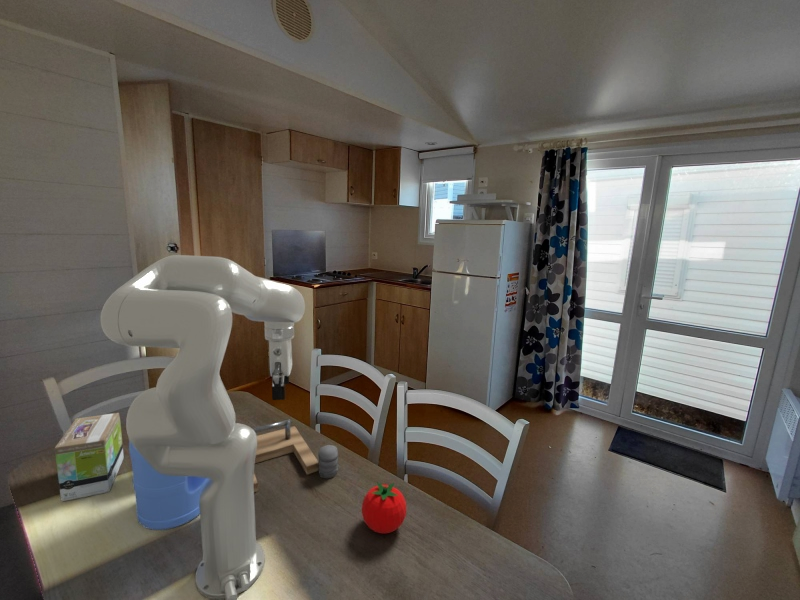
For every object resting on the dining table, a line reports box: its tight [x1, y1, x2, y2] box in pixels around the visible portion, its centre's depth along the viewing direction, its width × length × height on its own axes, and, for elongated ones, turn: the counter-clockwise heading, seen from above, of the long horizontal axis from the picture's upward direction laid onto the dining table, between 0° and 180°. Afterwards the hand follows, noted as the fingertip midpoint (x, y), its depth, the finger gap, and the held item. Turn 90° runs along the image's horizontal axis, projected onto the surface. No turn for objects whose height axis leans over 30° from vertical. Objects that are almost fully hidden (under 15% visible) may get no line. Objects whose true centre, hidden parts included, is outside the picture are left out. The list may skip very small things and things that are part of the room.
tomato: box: [361, 481, 407, 534], centre depth 86 cm, size 10×10×10 cm
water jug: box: [128, 439, 211, 531], centre depth 87 cm, size 16×16×28 cm
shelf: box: [253, 425, 319, 493], centre depth 108 cm, size 22×20×2 cm
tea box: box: [54, 412, 125, 502], centre depth 96 cm, size 15×10×15 cm, turn 25°
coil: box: [317, 444, 339, 479], centre depth 103 cm, size 5×5×7 cm
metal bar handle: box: [252, 418, 292, 440], centre depth 110 cm, size 3×14×6 cm, turn 123°
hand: (281, 391), depth 102 cm, fingers open, 9 cm apart
